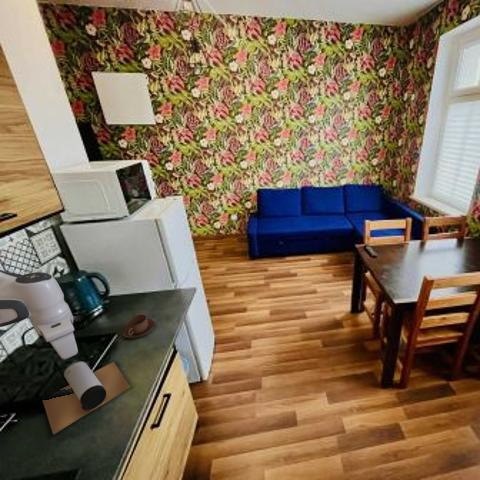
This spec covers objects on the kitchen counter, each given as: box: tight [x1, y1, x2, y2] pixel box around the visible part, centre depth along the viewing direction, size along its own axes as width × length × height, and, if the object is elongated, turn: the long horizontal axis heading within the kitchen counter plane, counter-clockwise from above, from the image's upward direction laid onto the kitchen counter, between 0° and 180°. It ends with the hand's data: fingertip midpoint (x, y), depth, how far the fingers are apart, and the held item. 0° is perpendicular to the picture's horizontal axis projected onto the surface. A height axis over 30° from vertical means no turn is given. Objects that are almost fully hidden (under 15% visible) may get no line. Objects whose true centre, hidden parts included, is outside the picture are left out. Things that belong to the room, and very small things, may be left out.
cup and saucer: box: [122, 314, 155, 339], centre depth 117 cm, size 12×12×6 cm
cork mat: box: [42, 361, 131, 435], centre depth 91 cm, size 20×17×1 cm
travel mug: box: [63, 360, 106, 410], centre depth 90 cm, size 6×7×20 cm
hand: (69, 353), depth 89 cm, fingers closed
